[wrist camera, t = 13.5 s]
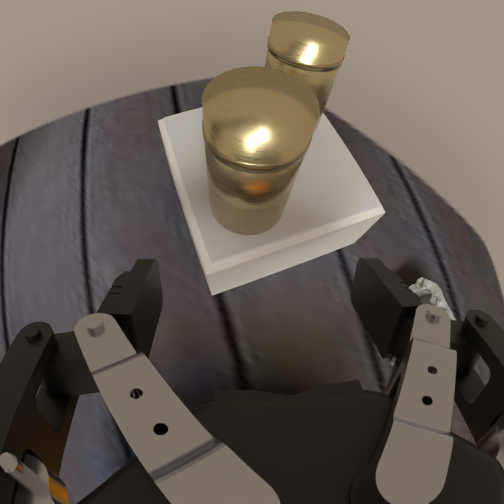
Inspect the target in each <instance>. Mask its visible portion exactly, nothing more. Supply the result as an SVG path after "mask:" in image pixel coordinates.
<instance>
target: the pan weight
mask: <svg viewBox="0 0 504 504" xmlns="http://www.w3.org/2000/svg"><path fill="white" fill-rule="evenodd" d="M349 40H350V36H349V34H348V32H347V31H346V30H345V29H344V28H343V27H342V26H340V25H339V24H337V23H335V22H334V21H332V20H330V19H327V18H325V17H322V16H319V15H316V14H312V13H307V12H297V11H296V12H295V11H291V12H283V13H279V14H277V15H275V16H274V17H273V19H272V24H271V30H270V35H269V38H268V46H267V47H268V50H267V57H266V64H265V67H267V68H272V69H277V70H280V71H283V72H286V73H288V74H291V75H293V76H295V77H296V78H298V79H300V80H301V81H303V82H304V83H305V84H306V85H307V86H309V88H310V89H311V90H312V91H313V92H314V94H315V95H316V97H317V99H318V102H319V107H320V113H319V117H318V120H317V123H316V126H315V128H314V131H313V133H314V132H315V131H316V129H317V127H318V124H319V122H320V119H321V116H322V114H323V111H324V108H325V106H326V103H327V100H328V97H329V95H330V92H331V89H332V87H333V84H334V81H335V79H336V75H337V73H338V70H339V68H340V66H341V64H342V62H343V59H344V54H345V51H346V48H347V45H348V43H349Z"/></svg>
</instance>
